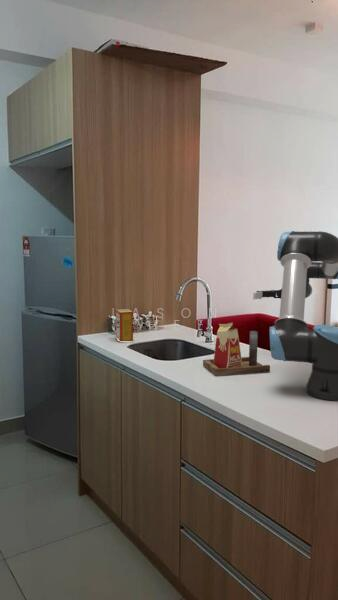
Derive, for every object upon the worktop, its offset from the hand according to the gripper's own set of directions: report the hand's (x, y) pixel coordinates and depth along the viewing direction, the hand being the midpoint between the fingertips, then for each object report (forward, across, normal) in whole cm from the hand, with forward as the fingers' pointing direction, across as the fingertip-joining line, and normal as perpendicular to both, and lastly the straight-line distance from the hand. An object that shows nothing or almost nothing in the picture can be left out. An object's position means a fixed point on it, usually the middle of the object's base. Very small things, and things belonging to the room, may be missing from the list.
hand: (268, 297), depth 204 cm
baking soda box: (+11, +76, -28) cm, 82 cm away
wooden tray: (+18, +4, -28) cm, 34 cm away
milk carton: (+22, +6, -28) cm, 36 cm away
